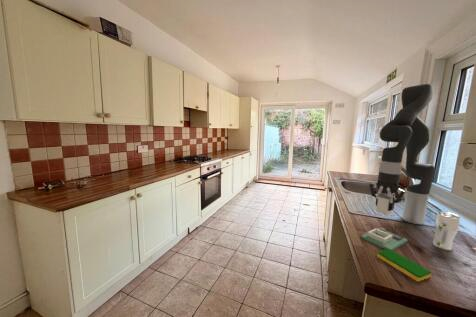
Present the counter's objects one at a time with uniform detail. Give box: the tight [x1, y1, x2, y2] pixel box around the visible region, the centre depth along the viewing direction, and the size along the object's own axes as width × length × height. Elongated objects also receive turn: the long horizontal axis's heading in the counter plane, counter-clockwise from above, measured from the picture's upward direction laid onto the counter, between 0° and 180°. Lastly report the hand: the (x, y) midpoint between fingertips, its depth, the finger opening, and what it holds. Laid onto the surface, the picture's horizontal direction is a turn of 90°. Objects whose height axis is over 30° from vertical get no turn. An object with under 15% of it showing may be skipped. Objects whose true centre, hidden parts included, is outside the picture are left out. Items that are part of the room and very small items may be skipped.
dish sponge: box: [377, 249, 432, 282], centre depth 73 cm, size 7×14×2 cm, turn 20°
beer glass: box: [432, 211, 461, 251], centre depth 85 cm, size 7×7×15 cm
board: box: [360, 227, 408, 252], centre depth 90 cm, size 16×12×3 cm
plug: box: [375, 193, 392, 216], centre depth 87 cm, size 4×4×8 cm
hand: (383, 208), depth 87 cm, fingers closed on plug, 4 cm apart
